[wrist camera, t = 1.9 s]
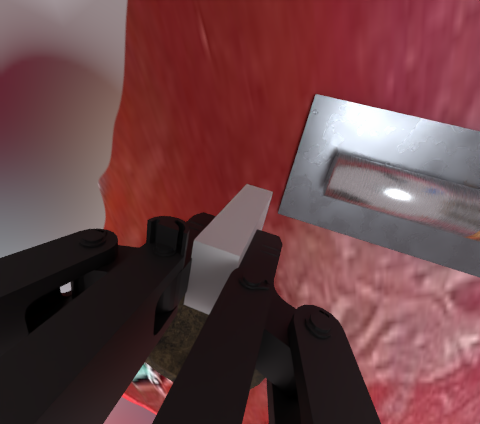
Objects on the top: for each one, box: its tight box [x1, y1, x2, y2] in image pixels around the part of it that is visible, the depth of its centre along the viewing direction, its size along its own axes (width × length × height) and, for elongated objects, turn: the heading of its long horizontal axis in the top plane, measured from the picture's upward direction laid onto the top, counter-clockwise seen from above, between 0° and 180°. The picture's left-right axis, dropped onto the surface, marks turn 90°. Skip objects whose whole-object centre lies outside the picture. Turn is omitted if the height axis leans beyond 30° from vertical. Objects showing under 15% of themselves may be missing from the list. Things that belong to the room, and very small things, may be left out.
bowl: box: [145, 295, 265, 389], centre depth 35 cm, size 22×22×10 cm
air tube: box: [323, 152, 480, 242], centre depth 24 cm, size 22×5×5 cm, turn 77°
